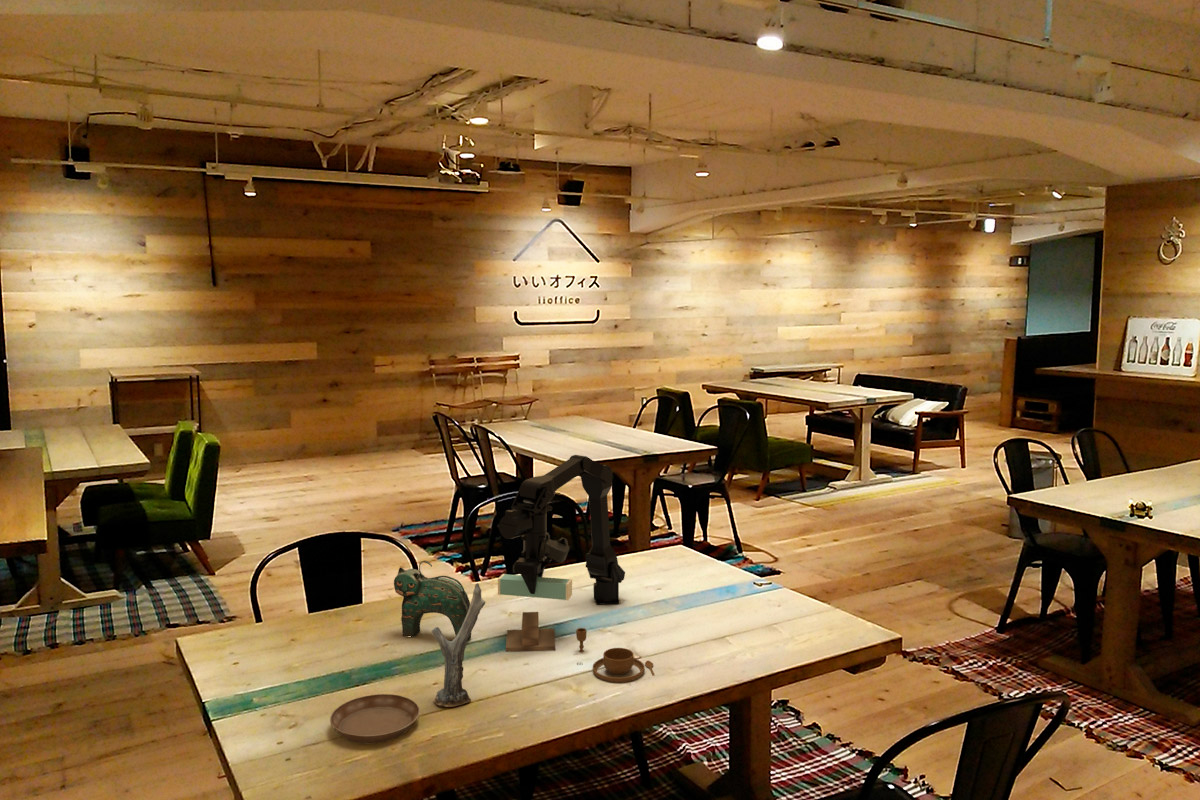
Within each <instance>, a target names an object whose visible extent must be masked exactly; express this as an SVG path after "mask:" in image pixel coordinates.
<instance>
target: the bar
mask: <svg viewBox="0 0 1200 800" xmlns="http://www.w3.org/2000/svg"><path fill="white" fill-rule="evenodd" d="M497 595H498V596H500V595H502V596H516V597H523V598H524V597H527V598H537V599H538V598H540V599H552V600H563V601H569V599H570V598H572V596H573V579H572V578H569V579H568V578H558V577H545V576H544V577H543V576H542V577H538V578H537V584H536V590H535V594H530V592H529V590H528V588H527V586H526V583H525V581H524V579H523V578H522V576H521V574H520V575H519V574H517V575H516V574H507V573H502V574H501V575H500V576H499V577H498V578H497Z"/></svg>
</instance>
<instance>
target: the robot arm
mask: <svg viewBox="0 0 1200 800" xmlns="http://www.w3.org/2000/svg"><path fill="white" fill-rule="evenodd" d="M578 476H579V478H580V479H581V484H582V485H581V486H582V488H583V490H584V491H585V493H586V494H587V495H588V500H589V501H588V503H589V516H590V517H589V518H590V531H591V533H590V535H591V548H590V550H589V552H588V553H586V554H585V555H584V556H585V557H584V558H585V568H587V572H588V574H589V578H590V579H594V580H595V582H593V600H594V601H595V604H596V605H618V604H620V603H621V602H620V598H619V595H620V594H619V593H620V592H619V590H620V588H619V584H621V583H623V581H624V580H625V576H626V571H625V570H624V569H623V568H622V566H620V564H619V559H618V555H617V553H616V551H615V550H614V548H613V547H612V545H611V536H610V519H609V504H608V494H609V493H610V491H611V489H612V487H613V477H614V473H613V469H612V468H611V467H610V466H609V465H607V464H601V463H600V462H597V461H595V460H593V459H591V458H590V457H588V456H586V455H581V454H573V455H571V456H570V457H569V458H568V459H567V460H565V461H564V462H563V463H561V464H559V465H558V466H556V467H555V468H553V469H551V470H550V471H548V472H547V473H545V474H543V475H539V476H534V477H531V478H527V479H525V480H523V481H522V483H521V484H520V486H519V488H518V491H517V493H516V495H515V498H514V500H513V502H512V504H511V507H510V508H511V509H508V510H505V511H504V516H501V518H500V520H499V523H498V530H499V531H498V532H499V533H500V535H501V536H502V537H503V538H504V539H506V540H512V539H515V538H518V537H520V538H521V540H520V541H523V550H522V551H521V553H520V556H521V557H519V558H518V560H516V561H515V563H513V564H512V573H513V574H517V575H519V574H520V575H521V576H522V578H523V579H524V581H525V583H526V586H527V588H528V590H529V592H530V594H535V590H536V584H537V578H538V577H543V576H544V572H545V568H546V567H547V566H548V564H550V563H551V561H552V560H553V561H555V562H556V563H558V564H563V563H564V562H565V561H566V559H567V556H568V553H569V552H570V545H569V543H568V542H569V541H568V539H567V538H565V537H560V538H559V539H558V540H557V539H554V540H553V539H551V535H550V534H549V533H550V532H547V524H548V523H547V512H549V511H552V510H553V507H552V506H551V505H550V504H548V503H549V502H550V501H552V500H553V498H555V495H556V492H557V490H559V489H560V488H562V487H563V486H564V485H566V484H567V483H569V482H570V481H572V480H573V479H576V478H577V477H578Z"/></svg>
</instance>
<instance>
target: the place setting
mask: <svg viewBox="0 0 1200 800" xmlns="http://www.w3.org/2000/svg"><path fill="white" fill-rule="evenodd" d="M575 632H576V633H575V634H576V635H575V636H576V640H577V642H579V646H578V647H579V650H578V652H579V653H584V652H585V650H584V647H585V646H584V642H585V641H586V640H587V629H586V628H584V627H578V628H577V629H576V631H575ZM634 656H635V655H634V652H633V651H632V650H631V649H628V648H625V647H624V648H623V647H612V648H609V649H606V650H605V651H604V652H603V657H602V658H600V659H597V660H596V661H594V663H593V664H592V672H593V674H594V675H595V676H596V677H597V678H598V679H600V680H602V681H605V682H609V683H628V682H633V681H636V680H637V679H639V678H640V677H642V675H643V674H644V672H645V667H646V668H647V669H649V670H650V674H651V675H652V676H656V675H655V672H654V671H653V667H654V663H653V662H652V661H651V660H646V661H645V662H644V663H643V662H642V661H641V660H639V659H638V658H635V657H634ZM576 665H577V666H582V665H583V663H582V662H581V661H580V662H576ZM602 666H604V668H605V669H606V670H607V671H609V673H611V674H612V675H616V676H621V675H625V674H627V673H628V672H629V671H630V670H632V668H633V666H635V667H636V668H638V669H639V672H638V673H636V674H633V675H630V676H629V675H628V676H624V677H623V676H622V677H615V676H607V675H604V674H602V673H599V672H598V670H599V669H600V668H601V667H602Z"/></svg>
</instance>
